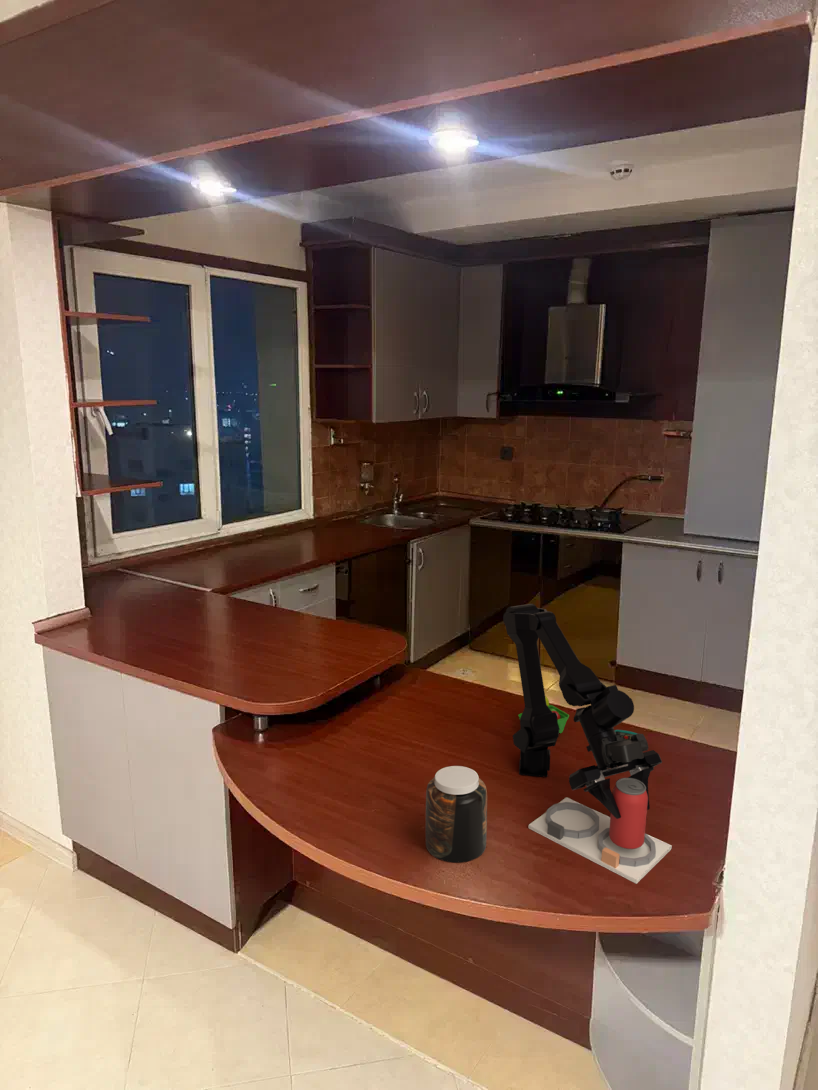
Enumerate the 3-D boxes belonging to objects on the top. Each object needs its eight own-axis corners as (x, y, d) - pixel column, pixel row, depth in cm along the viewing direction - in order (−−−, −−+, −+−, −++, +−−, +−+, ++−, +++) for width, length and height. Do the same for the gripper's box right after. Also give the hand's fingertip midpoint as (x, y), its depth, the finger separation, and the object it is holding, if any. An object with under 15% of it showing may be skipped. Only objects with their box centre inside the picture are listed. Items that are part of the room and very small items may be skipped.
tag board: (528, 828, 152) (529, 814, 151) (566, 800, 162) (567, 787, 161) (636, 883, 136) (637, 868, 135) (671, 849, 146) (672, 834, 145)
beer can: (638, 855, 140) (643, 798, 137) (604, 843, 143) (608, 788, 140) (647, 836, 145) (652, 782, 142) (614, 826, 149) (618, 772, 146)
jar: (461, 872, 139) (462, 800, 136) (414, 846, 146) (414, 778, 143) (497, 842, 148) (499, 774, 144) (450, 819, 155) (451, 754, 152)
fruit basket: (535, 744, 186) (536, 703, 183) (513, 730, 193) (514, 690, 191) (569, 733, 191) (572, 693, 189) (547, 720, 199) (548, 681, 196)
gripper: (581, 731, 139) (615, 815, 131) (659, 713, 146) (696, 792, 139) (554, 749, 147) (585, 829, 140) (630, 731, 155) (662, 806, 148)
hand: (633, 814), depth 141 cm, fingers closed on beer can, 6 cm apart
